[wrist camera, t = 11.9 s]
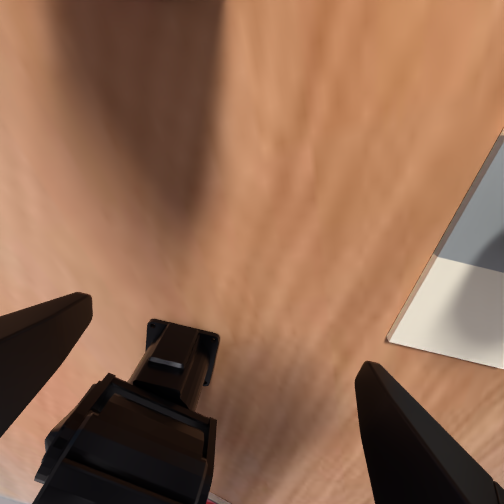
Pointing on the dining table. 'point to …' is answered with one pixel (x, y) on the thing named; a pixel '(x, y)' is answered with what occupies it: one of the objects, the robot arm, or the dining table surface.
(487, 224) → the game board
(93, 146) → the dining table surface
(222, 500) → the smartphone
